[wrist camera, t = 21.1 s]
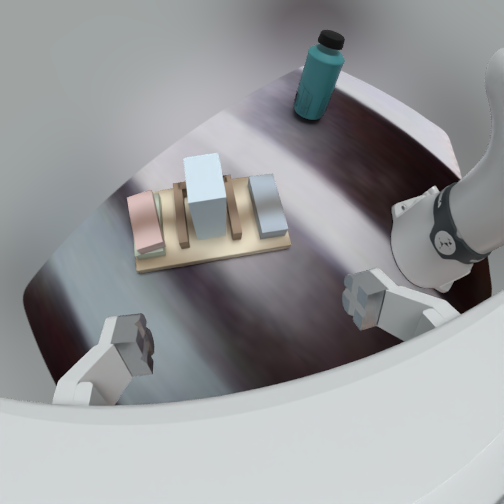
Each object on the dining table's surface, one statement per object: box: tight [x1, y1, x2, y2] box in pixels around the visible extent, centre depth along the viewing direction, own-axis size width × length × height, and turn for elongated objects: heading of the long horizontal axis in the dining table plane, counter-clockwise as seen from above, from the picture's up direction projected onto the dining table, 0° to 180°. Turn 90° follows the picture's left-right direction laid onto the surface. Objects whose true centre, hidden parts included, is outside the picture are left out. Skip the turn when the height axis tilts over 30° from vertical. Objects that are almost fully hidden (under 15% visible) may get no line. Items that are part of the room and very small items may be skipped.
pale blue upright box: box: [184, 153, 226, 240], centre depth 34 cm, size 6×4×11 cm, turn 12°
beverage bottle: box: [294, 30, 345, 120], centre depth 41 cm, size 6×7×20 cm
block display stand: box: [127, 174, 291, 273], centre depth 38 cm, size 12×22×6 cm, turn 102°
